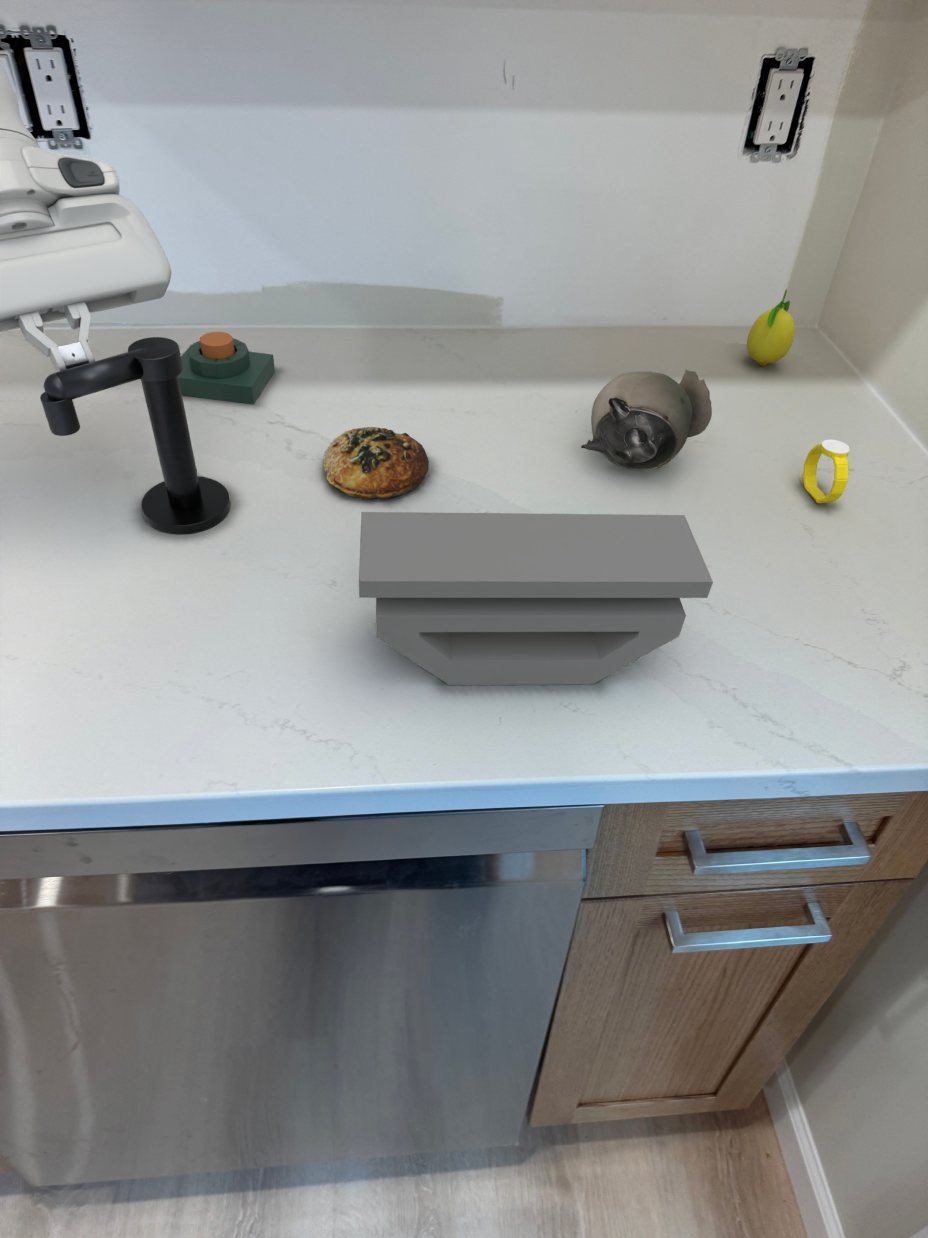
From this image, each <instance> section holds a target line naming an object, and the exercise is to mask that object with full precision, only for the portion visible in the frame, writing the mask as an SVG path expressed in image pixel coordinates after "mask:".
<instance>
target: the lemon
mask: <svg viewBox="0 0 928 1238" xmlns="http://www.w3.org/2000/svg"><path fill="white" fill-rule="evenodd" d="M787 293H788V289H787V288H786V289H784V293H783V296H782V299H781V301H780V302H779V303H777V305H775V306H774V307H772V308H770V309H768V310H766V311H764V312H763V313H761V314H760V315H759V316H758V317H757V318H756V319H755V321H754V322H753V324H752V325H751V328H750V330H749V332H748V335H747V338H746V350H747V354H748V356H749V357H750V358H751V359H752V360H754V361H756V362H757V364H758V365H759V366H761V367H764V366H766V365H767V364H773V363H776V362H778V361H780V360H782V359H783V358H784V357H785V356H787V354H788V353H789V351H790V349H791V347H792V346H793V345H792V344H793V343H794V338H795V331H796V330H795V329H796V327H795V322H794V318H793V316H792V315H791V314H790V313H789V312H788V311H789V309H790V306H791V301H790V300H787V301H786V302H785V299H786V296H787Z"/></svg>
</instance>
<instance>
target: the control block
mask: <svg viewBox="0 0 928 1238" xmlns="http://www.w3.org/2000/svg"><path fill="white" fill-rule="evenodd" d="M233 343H234V350H235V354H234V355H232V356H230V357H227V358H220V359H212V358H206V357H204V356H203V355H202V350H201V344H200V340H198V341H195V342H193V343H192V344H190V345H189V346H188V348H187V349H186V350H184V352H183V354H181V360H182V365H183V370H182V372H181V373H180V374H179V375H178V377H179V383H180V388H181V393H182V396H186V397H192V398H193V397H194V398H203V399H208V400H209V399H210V400H217V401H218V400H219V401H225V402H234V403H242V404H248V405H249V404H250V405H254V404H255V403H256V402H257V400H258V399H259V397H260V395H261V394H262V392H263V390H264V389H265V387H266V386H267V385H268V383H269V381H270V380H271V378H272V376H273V375H274V374H275V372H276V370H275V359H274V354H272V353H264V352H256V351H249V348H248V346H247V344H246V343H245V342H243V341H241V340H239V339H237V338H234V337H233Z"/></svg>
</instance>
